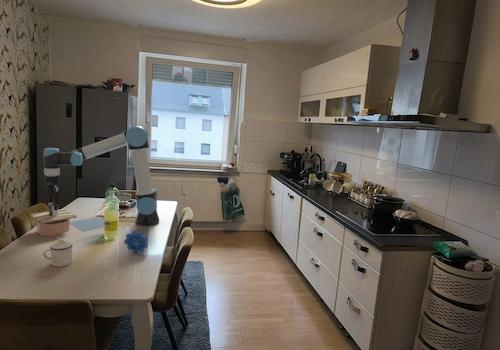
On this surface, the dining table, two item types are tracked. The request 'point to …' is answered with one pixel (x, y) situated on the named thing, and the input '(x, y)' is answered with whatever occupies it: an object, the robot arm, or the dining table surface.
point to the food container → (124, 196)
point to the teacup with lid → (60, 253)
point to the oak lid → (48, 217)
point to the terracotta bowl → (53, 227)
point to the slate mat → (88, 224)
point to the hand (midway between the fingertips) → (53, 214)
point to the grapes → (136, 241)
